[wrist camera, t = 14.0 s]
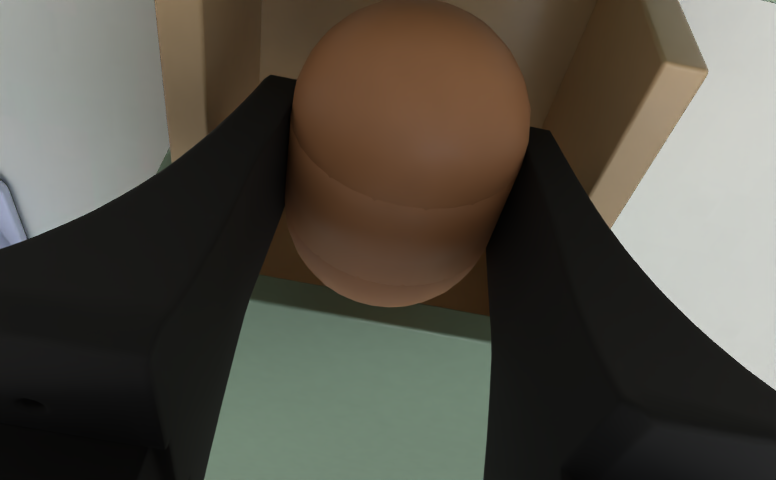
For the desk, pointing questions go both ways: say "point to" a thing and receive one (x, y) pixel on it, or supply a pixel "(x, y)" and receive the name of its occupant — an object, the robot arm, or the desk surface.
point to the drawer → (527, 44)
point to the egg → (403, 150)
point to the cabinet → (352, 389)
